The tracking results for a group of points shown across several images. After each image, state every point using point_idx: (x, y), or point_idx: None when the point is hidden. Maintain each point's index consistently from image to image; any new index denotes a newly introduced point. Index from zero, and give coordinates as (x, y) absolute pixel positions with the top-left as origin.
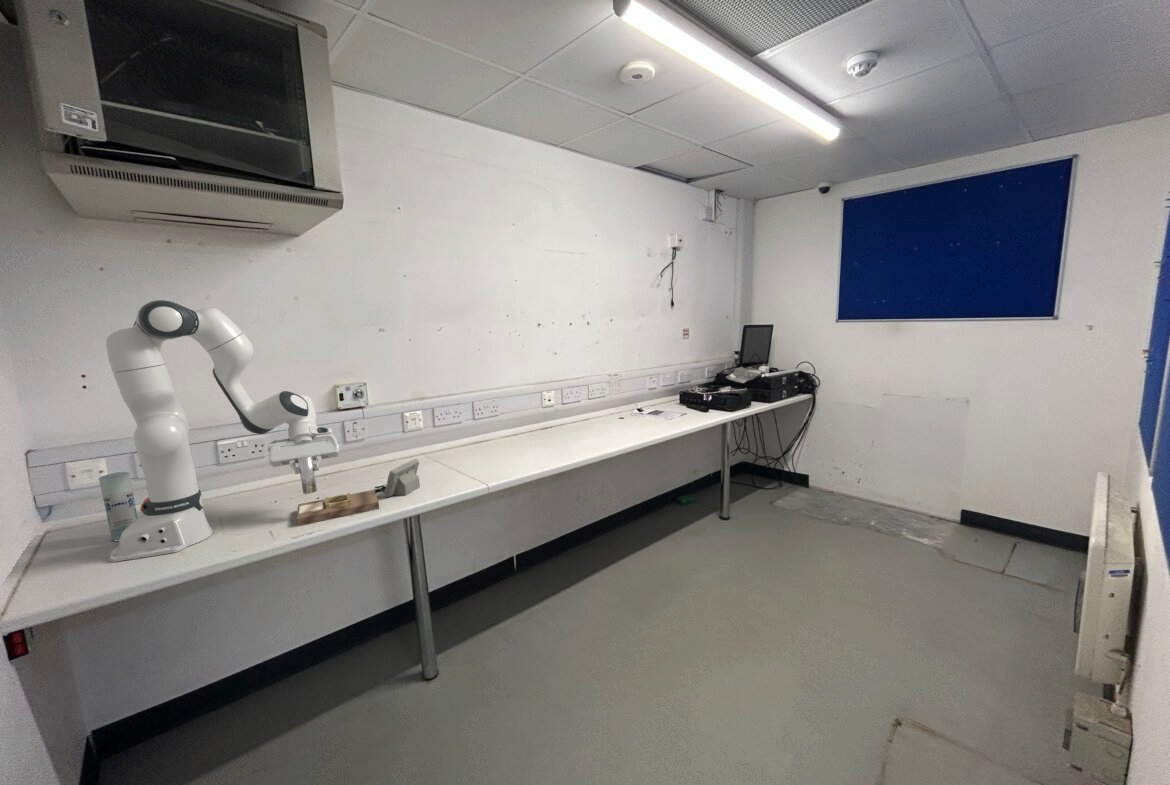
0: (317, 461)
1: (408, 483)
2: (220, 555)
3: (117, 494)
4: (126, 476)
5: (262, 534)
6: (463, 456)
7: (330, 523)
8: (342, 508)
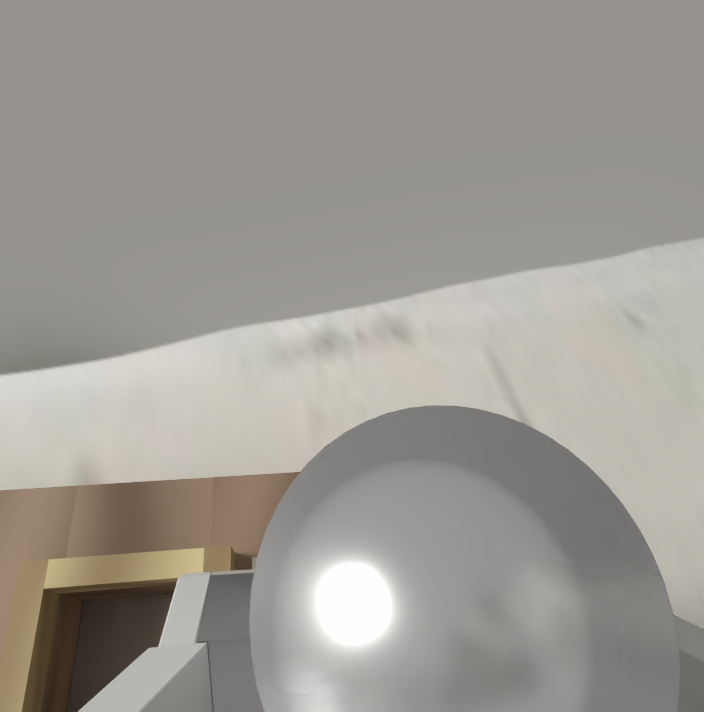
0: (152, 688)
1: None
2: (677, 307)
3: None
4: None
5: (585, 460)
6: None
7: (225, 422)
8: (119, 502)
